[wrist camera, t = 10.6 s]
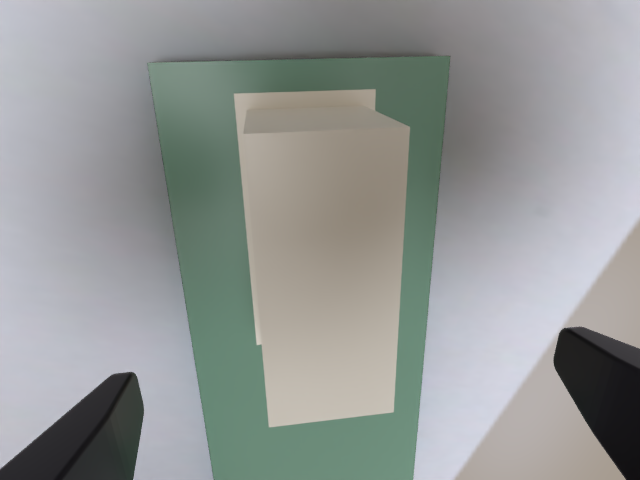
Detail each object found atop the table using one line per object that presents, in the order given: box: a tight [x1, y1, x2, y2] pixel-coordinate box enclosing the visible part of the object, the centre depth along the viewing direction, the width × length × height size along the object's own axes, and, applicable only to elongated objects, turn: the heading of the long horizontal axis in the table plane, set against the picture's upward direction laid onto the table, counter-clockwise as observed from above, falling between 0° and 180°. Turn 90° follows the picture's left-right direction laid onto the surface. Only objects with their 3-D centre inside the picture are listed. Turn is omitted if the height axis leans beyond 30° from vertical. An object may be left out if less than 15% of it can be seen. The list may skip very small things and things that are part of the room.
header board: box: [147, 56, 450, 480], centre depth 18 cm, size 21×10×4 cm, turn 1°
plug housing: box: [243, 106, 410, 427], centre depth 14 cm, size 9×4×5 cm, turn 1°
